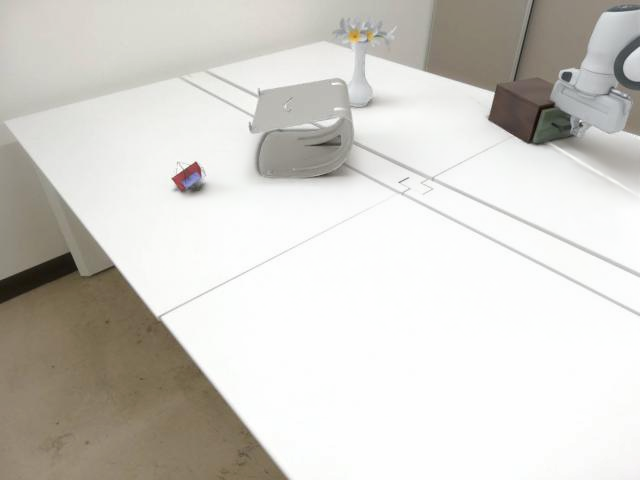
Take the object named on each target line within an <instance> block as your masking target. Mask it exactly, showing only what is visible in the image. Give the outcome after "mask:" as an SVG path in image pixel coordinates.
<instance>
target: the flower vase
mask: <svg viewBox="0 0 640 480" xmlns="http://www.w3.org/2000/svg"><path fill="white" fill-rule="evenodd" d="M350 19H351V17H350V16H349V17H347V19H346V20H345V18H344V17H342V18H341V19H340V21H339V28H335V29H334V30H333V31H332V32H331V35H335V36H334V37H333V41H335V40H337V39H338V38H340V37H341V39H340V43H341V44H348V43H350V49H351V51H353V52H354V56H355V57H354V68H353V74H352V77H351V80H350V81H349V83H346V84H347V87H348V92H349V99H350V107H354V108H362V107H365V106H367V105H368V103H369V102H370V101H371V100H372V99H373V97H374V90H373V87H372V86H371V84H370V83H369V82H368V80H367V77H366V53H367V48H368V44H369V43H370V45H371V47H372V48H373V49H375V48H376V45H378V46H381V45H382V42H381V40H382V39H384V43H385V45H386V49H387V53H388V54H389V53H390V50H391V44H393V43H395V35H394V34H395V31H396V29H397V27H398V25H395V26H394V27H393V29H391V30H390V31H389V32H387V31H386V30H384V29H381V28H382V27H383V21H382V19H378V20H377V21H376V22H375V20H374V18H373V17H372V16H368V20H366V21H363V22H362V21H361V18H360V17H359V15H358V14H356V15H354V17H353V20H352V21H353V24H350Z"/></svg>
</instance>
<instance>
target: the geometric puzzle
mask: <svg viewBox="0 0 640 480" xmlns="http://www.w3.org/2000/svg"><path fill="white" fill-rule="evenodd" d="M180 163H181V161H177V163H176V165H179V167H181V169H182V170H181V171H180V172H179V173H177V172H178V169H176V170H175V169H174V171H173V172H175V171H176V172H175V175H173V176H172V177H171V178H170V180H172V181H173V183H174V184H175V185H176V187H177V188H178V190H179V191H180V192H184V191H186V189H189V188H190V187H191V186H193V185H194V186H195V188H197V189H196V190H197V192H200V190H201V187H202V183H200V185H199V187H197V185H196V183H197V182H198V181H200V180H201V181H203V178H205V177H207V172H206V169H205V168H204V166H203V165H202V164H200V163H199V162H198V161H197V160H195V161H193V163H191V164H188V163H186V165H188V166H187V167H186V168H184V167H183V166H182V165H181V164H180ZM182 164H183V165H185V162H182ZM191 191H194V189H192V188H191Z"/></svg>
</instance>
